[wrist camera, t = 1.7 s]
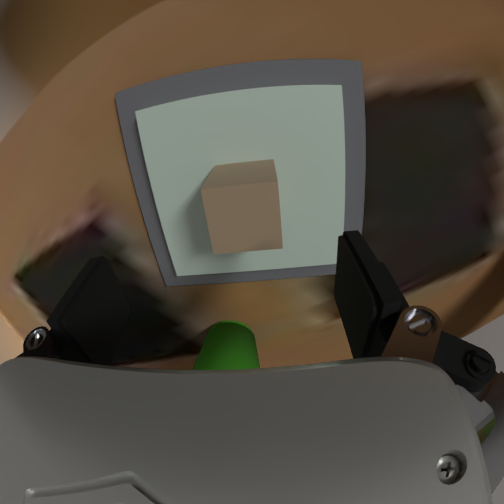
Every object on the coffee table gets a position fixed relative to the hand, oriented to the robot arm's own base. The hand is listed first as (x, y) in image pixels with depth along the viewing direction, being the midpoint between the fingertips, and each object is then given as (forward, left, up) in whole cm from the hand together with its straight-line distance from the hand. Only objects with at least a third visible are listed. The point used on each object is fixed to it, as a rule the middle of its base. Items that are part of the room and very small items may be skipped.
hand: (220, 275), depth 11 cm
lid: (-1, 0, -11) cm, 11 cm away
